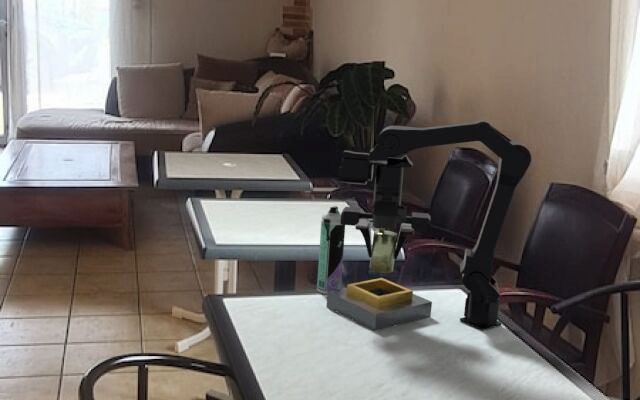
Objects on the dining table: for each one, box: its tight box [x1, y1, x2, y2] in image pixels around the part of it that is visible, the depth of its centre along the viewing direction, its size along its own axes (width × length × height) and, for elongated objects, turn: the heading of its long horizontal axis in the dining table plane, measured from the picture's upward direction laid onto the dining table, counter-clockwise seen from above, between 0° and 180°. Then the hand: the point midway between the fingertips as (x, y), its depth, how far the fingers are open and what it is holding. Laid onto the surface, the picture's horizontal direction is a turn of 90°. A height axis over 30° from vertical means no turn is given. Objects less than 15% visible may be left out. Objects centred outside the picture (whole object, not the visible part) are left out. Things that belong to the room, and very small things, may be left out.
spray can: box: [316, 206, 346, 295], centre depth 185 cm, size 6×6×20 cm
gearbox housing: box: [326, 277, 433, 331], centre depth 176 cm, size 18×16×6 cm
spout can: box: [369, 228, 398, 274], centre depth 173 cm, size 5×5×10 cm
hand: (382, 258), depth 173 cm, fingers closed on spout can, 5 cm apart
